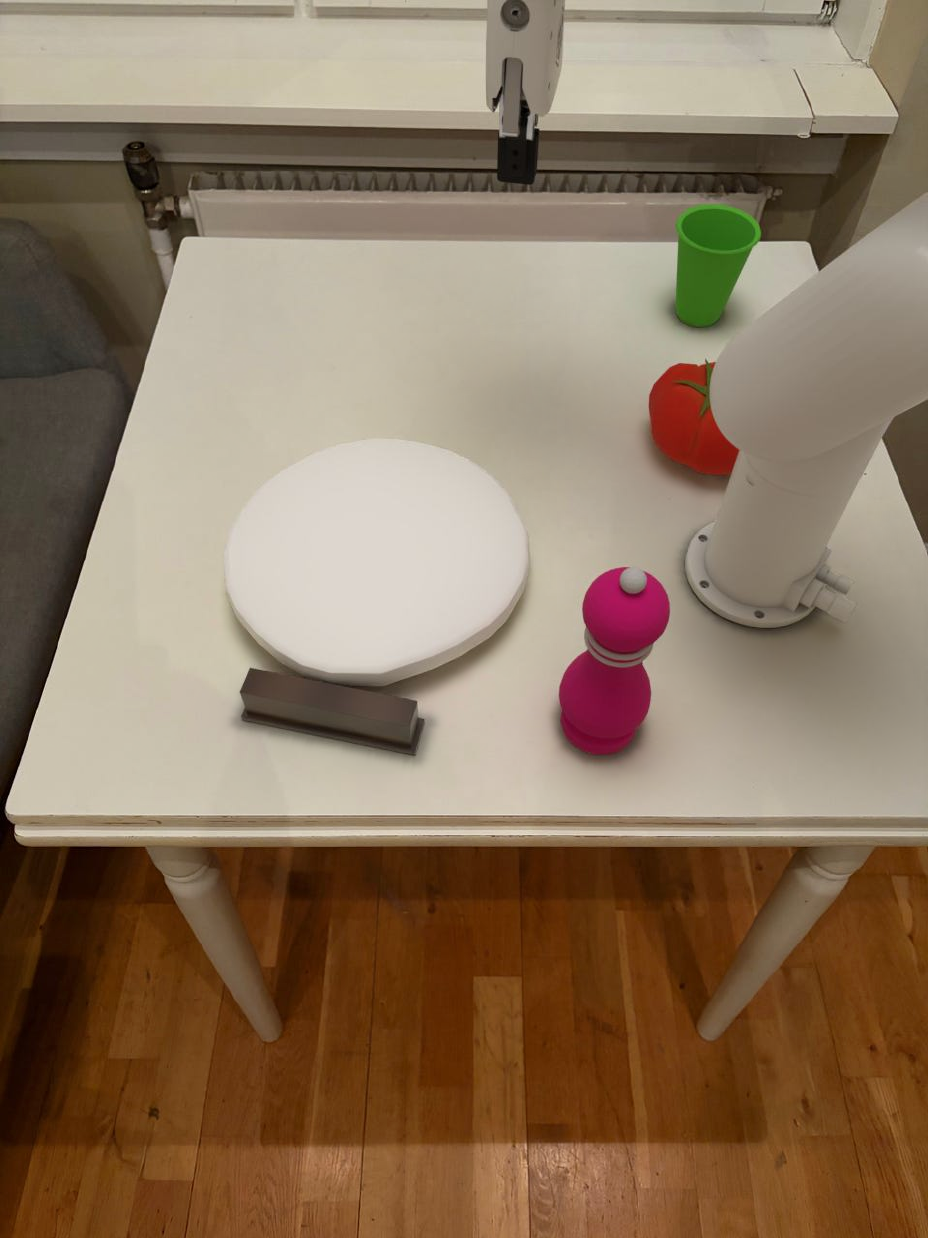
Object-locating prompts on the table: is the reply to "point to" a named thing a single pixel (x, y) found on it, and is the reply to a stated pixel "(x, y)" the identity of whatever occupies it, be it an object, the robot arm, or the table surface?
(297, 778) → the table surface
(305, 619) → the plate
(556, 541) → the table surface
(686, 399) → the tomato
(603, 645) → the pepper mill
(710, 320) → the cup
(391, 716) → the rail
